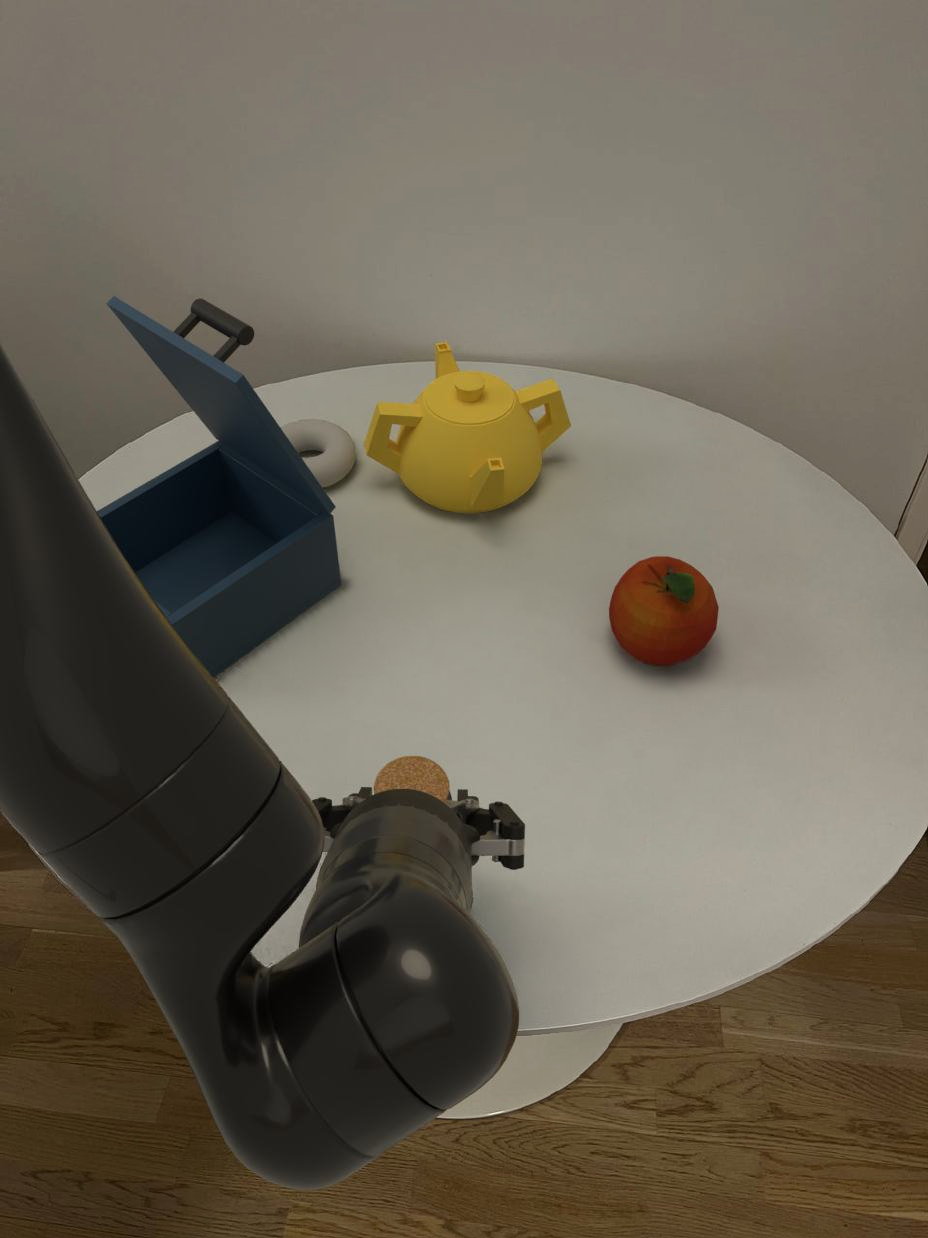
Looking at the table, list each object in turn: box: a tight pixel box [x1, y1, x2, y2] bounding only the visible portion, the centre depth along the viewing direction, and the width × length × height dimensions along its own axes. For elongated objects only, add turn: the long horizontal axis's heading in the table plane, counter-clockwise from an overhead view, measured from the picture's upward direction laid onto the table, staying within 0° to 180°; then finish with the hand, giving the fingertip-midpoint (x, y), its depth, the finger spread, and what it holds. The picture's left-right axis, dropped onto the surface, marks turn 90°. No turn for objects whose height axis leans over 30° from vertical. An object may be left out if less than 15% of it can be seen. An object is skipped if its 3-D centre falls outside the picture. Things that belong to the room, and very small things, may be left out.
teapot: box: [363, 341, 572, 515], centre depth 103 cm, size 17×17×12 cm
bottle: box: [373, 755, 453, 801], centre depth 68 cm, size 6×6×15 cm
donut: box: [280, 418, 357, 489], centre depth 107 cm, size 10×4×10 cm
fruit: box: [608, 555, 720, 667], centre depth 88 cm, size 10×10×10 cm
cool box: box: [96, 440, 342, 678], centre depth 92 cm, size 18×16×9 cm
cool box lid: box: [106, 295, 337, 514], centre depth 85 cm, size 19×16×5 cm
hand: (414, 803), depth 67 cm, fingers closed on bottle, 5 cm apart
